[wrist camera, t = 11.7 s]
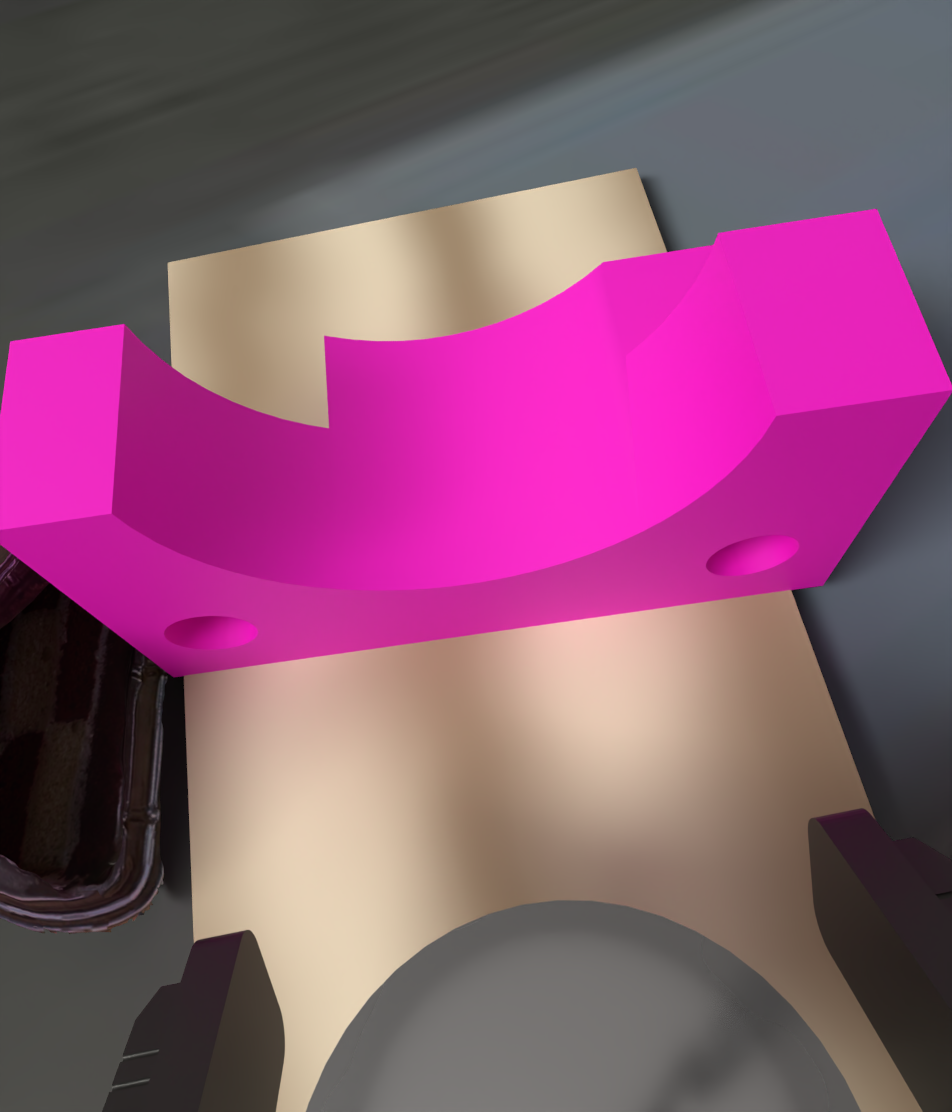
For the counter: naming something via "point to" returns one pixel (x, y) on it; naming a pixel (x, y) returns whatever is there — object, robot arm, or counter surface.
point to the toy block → (484, 459)
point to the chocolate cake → (74, 763)
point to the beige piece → (515, 767)
